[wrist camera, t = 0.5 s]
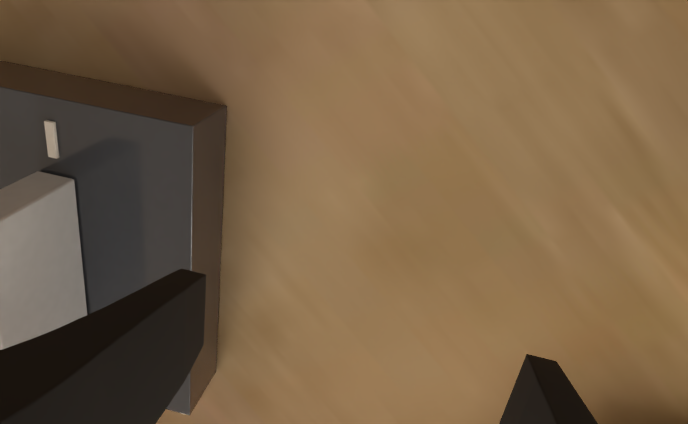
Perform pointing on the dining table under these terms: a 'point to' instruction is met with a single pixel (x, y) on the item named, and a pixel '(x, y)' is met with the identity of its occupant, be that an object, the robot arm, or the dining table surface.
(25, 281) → the upright gray tile
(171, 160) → the tile base
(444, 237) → the dining table surface
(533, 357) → the robot arm
